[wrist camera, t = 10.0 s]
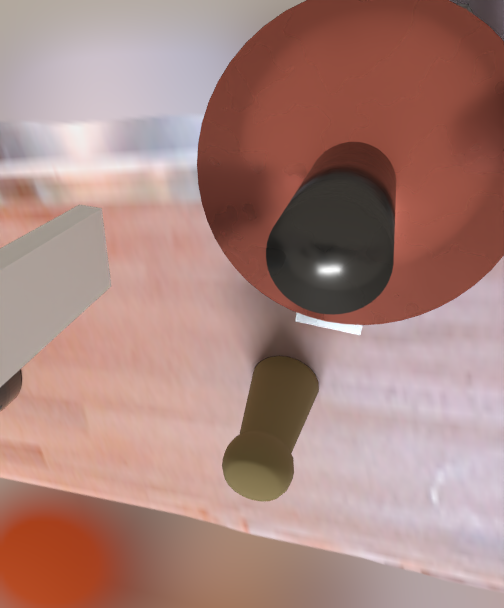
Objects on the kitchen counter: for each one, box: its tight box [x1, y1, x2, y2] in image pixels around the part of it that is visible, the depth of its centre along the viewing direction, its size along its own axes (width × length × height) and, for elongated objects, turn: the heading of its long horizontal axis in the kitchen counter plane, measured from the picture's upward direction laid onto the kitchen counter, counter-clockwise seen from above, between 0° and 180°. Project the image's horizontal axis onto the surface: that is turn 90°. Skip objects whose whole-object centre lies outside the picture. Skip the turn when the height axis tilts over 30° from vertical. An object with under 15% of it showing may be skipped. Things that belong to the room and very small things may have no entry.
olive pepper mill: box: [222, 356, 319, 501], centre depth 35 cm, size 6×6×11 cm
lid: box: [197, 0, 504, 325], centre depth 19 cm, size 15×15×11 cm
